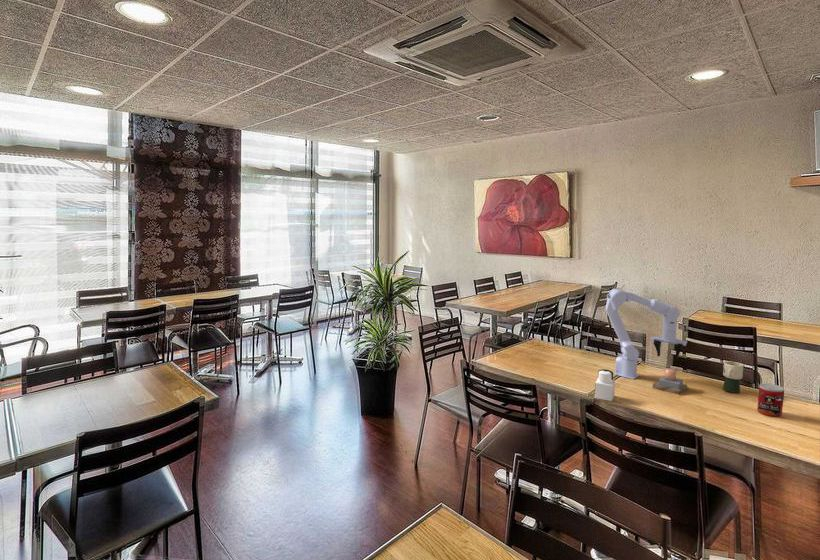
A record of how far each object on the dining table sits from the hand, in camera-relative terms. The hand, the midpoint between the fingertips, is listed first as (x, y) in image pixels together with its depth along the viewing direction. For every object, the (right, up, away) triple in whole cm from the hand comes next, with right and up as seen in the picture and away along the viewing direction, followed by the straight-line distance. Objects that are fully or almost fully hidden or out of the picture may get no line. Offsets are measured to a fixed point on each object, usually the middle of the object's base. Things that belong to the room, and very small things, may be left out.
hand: (667, 357), depth 214 cm
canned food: (+17, -16, -39) cm, 46 cm away
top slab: (-6, -10, -13) cm, 18 cm away
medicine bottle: (-41, -14, -22) cm, 48 cm away
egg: (-6, -8, -13) cm, 16 cm away
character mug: (+19, -13, -16) cm, 28 cm away
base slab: (-6, -13, -12) cm, 19 cm away
